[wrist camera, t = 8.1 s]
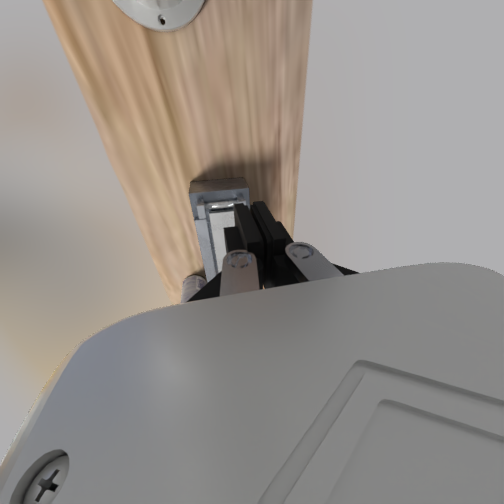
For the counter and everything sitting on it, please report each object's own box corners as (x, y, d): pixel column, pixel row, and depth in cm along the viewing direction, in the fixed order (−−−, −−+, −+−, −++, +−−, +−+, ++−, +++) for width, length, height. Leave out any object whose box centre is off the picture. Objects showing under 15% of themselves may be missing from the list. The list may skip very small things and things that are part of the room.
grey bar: (240, 281, 42) (241, 284, 41) (220, 284, 41) (220, 287, 40) (234, 208, 33) (235, 211, 32) (209, 211, 32) (209, 213, 31)
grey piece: (190, 181, 35) (187, 200, 28) (242, 177, 36) (252, 193, 29) (209, 277, 48) (210, 306, 41) (247, 272, 49) (255, 298, 42)
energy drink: (190, 294, 50) (187, 339, 40) (178, 279, 46) (172, 325, 37) (210, 286, 49) (212, 329, 40) (200, 271, 46) (199, 314, 37)
